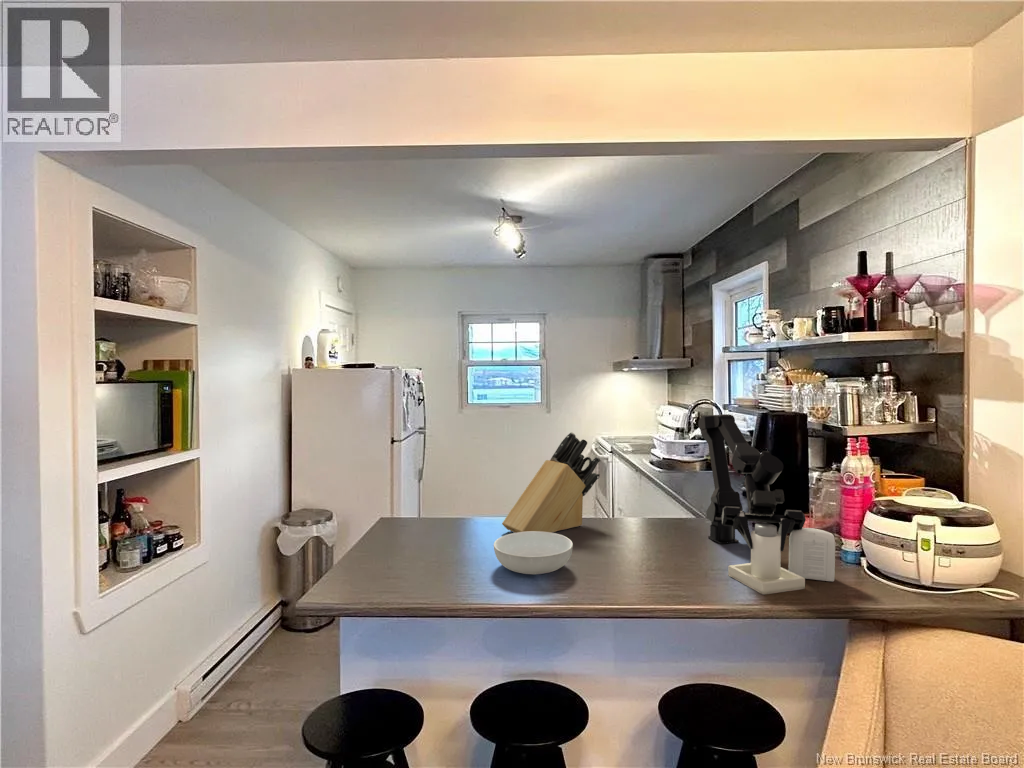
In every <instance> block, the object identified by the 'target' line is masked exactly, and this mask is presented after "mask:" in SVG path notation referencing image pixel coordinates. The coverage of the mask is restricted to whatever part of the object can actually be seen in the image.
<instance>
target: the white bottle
mask: <svg viewBox="0 0 1024 768" xmlns="http://www.w3.org/2000/svg"><path fill="white" fill-rule="evenodd" d="M750 535H751V539H752V549H750V563H751V574H752V575H754V576H756V577H758V578H762V579H768V580H775V579H779V578H780V569H781V561H782V560H781V559H782V557H781V556H782V553H781V552H782V551H781V535H780V534H779V533H778V527H777V526H776V525H774V524H771V523H768V522H759V523H757V522H756V523H755V524H754V530H752V531H750Z"/></svg>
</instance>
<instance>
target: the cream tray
mask: <svg viewBox="0 0 1024 768" xmlns="http://www.w3.org/2000/svg"><path fill="white" fill-rule="evenodd" d="M727 569H728V570H727V571H728V576H729V577H730V578H733V579H734V580H736V581H738V582H740V583H741V584H743V585H745V586H747V587H748V588H750V589H752V590H754V591H756V592H758V593H759V594H761V595H770V594H777V593H784V592H791V591H799V590H805V589H806V579H805V578H803V577H801V576H799V575H797V574H795V573H793V572H790V571H788V569H786V568H784V567H781V569H780V578H779V579H775V580H768V579H762V578H758V577H756V576H754V575H752V574H751V562H748V563H740V564H731V565H728V568H727ZM728 576H727V577H728Z"/></svg>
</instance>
